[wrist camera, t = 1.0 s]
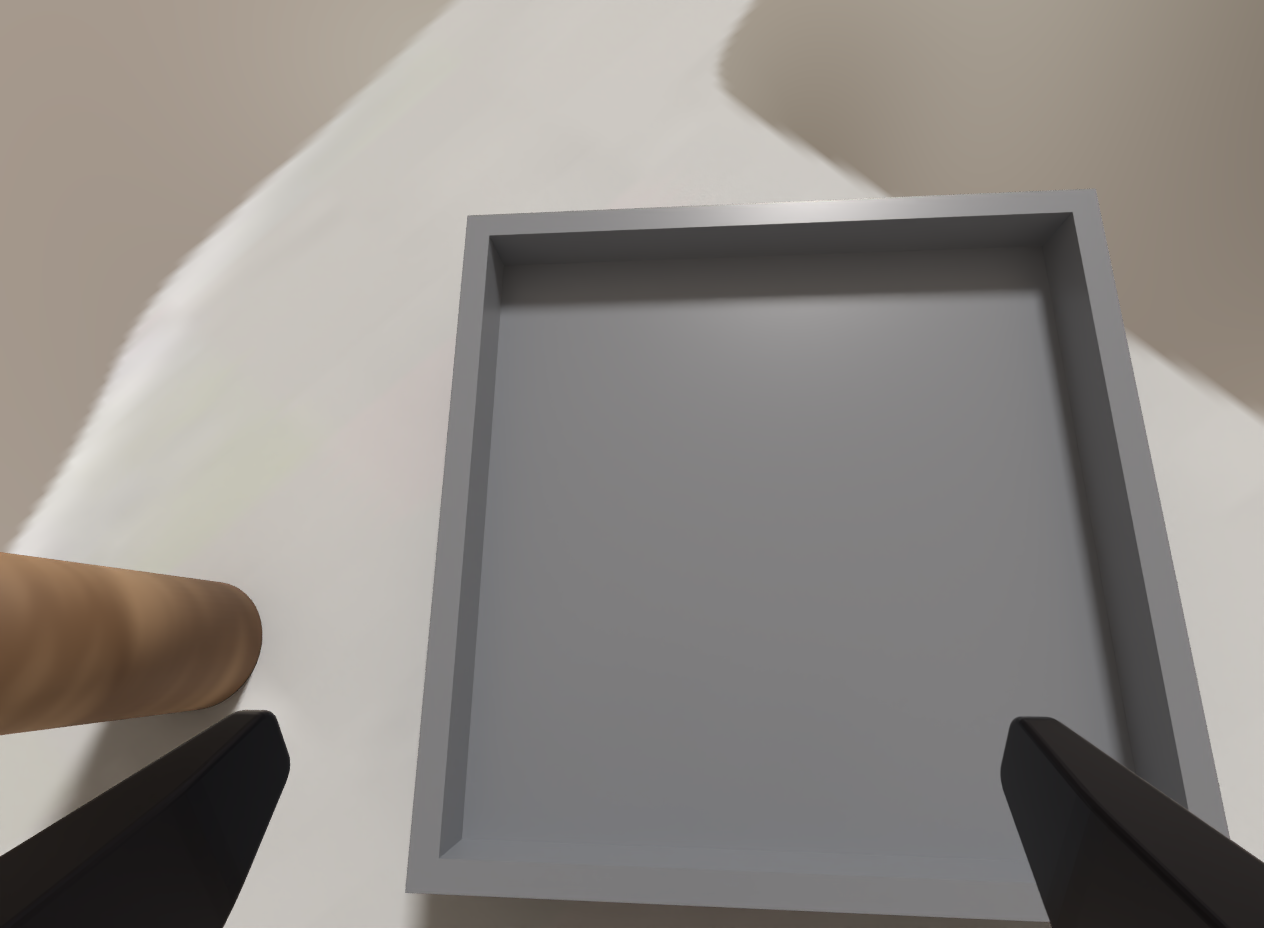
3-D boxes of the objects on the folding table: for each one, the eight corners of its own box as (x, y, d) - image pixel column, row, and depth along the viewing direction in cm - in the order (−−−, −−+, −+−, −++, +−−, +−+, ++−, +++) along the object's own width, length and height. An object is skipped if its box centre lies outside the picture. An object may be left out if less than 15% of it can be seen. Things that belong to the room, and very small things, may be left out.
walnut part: (251, 711, 23) (-132, 768, 12) (131, 708, 23) (-341, 761, 12) (271, 582, 24) (-62, 530, 13) (157, 581, 24) (-255, 531, 14)
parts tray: (1126, 869, 19) (1249, 931, 15) (462, 843, 21) (405, 892, 17) (1025, 267, 25) (1095, 188, 20) (503, 284, 26) (467, 215, 22)
